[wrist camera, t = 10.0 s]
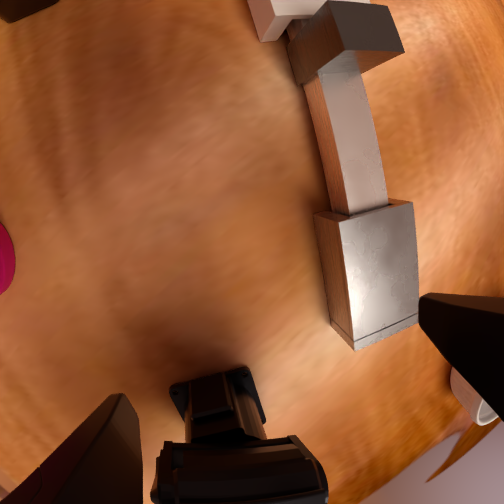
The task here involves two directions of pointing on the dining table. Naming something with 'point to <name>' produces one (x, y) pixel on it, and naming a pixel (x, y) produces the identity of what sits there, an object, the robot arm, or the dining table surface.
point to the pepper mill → (6, 260)
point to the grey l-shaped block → (344, 95)
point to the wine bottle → (21, 8)
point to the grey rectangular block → (282, 14)
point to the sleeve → (370, 271)
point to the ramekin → (471, 399)
